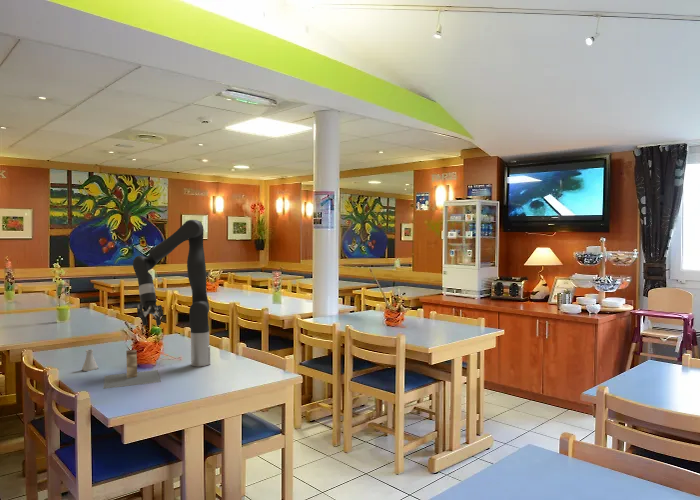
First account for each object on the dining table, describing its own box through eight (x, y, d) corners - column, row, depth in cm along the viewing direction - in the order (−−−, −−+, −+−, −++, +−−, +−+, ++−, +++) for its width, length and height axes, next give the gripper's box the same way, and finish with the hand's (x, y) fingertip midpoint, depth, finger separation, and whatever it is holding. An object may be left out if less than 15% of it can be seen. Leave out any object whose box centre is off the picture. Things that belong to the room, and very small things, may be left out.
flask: (91, 372, 254) (90, 352, 253) (78, 371, 255) (78, 351, 255) (101, 368, 261) (100, 348, 260) (88, 367, 262) (88, 348, 262)
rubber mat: (157, 370, 255) (157, 369, 255) (161, 382, 235) (161, 381, 235) (104, 376, 245) (104, 375, 245) (103, 389, 225) (103, 388, 225)
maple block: (136, 374, 248) (136, 349, 247) (137, 376, 244) (136, 351, 243) (126, 375, 246) (126, 350, 245) (127, 377, 242) (126, 352, 241)
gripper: (141, 290, 252) (146, 322, 247) (163, 292, 264) (168, 323, 260) (130, 295, 254) (135, 327, 250) (153, 297, 267) (157, 327, 263)
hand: (152, 325), depth 255 cm, fingers open, 8 cm apart
